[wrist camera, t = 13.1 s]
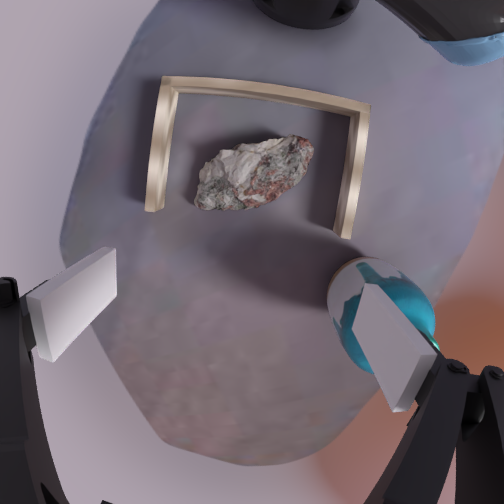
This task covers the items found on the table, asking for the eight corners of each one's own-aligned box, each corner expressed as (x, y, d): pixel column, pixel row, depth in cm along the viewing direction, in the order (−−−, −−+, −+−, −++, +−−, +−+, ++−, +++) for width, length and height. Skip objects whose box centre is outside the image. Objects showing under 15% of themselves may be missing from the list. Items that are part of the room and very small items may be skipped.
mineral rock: (201, 216, 38) (194, 222, 34) (189, 155, 36) (180, 153, 32) (315, 196, 37) (323, 200, 33) (306, 134, 35) (312, 131, 31)
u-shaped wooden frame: (171, 84, 33) (162, 76, 30) (360, 110, 34) (370, 104, 30) (155, 206, 38) (144, 210, 34) (341, 232, 38) (350, 239, 34)
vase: (318, 321, 42) (351, 417, 23) (319, 249, 39) (368, 318, 21) (385, 314, 42) (446, 395, 23) (392, 245, 39) (475, 303, 20)
